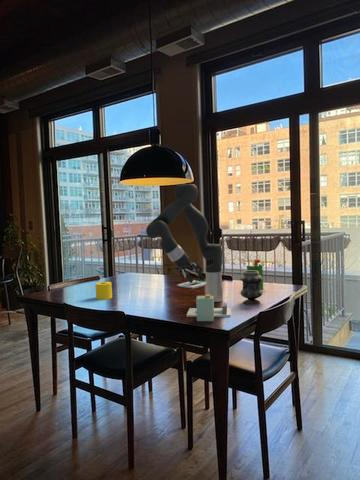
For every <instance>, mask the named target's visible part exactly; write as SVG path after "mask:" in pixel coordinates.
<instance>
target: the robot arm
mask: <svg viewBox="0 0 360 480" xmlns="http://www.w3.org/2000/svg"><path fill="white" fill-rule="evenodd" d="M198 196H199V191H198V187H197V185H196V184H193V183H187V184H178V185H176V186H175V188H174V197H175V199H176V200H175V201H174V202H172V203H170V204H169V205H167V206H165V208H164V209H163V210H162V211H161V213H159V215H157V217H156V218H154V219H153V220H152V221H151V222H150V223H149V224H148V225H147V227H146V229H145V232H146V235H147V237H148V238H150V239H157V238H159V237H160V239H161V241H160V242H159V244H160V245H159V246H160V247H161V248H162V251H164V253H165V254H166V255H167V256H168V259H170V261H171V262H172V264H174V266H175V270H176V272H178V274H179V275H180V277H181V278H186V280H187V282H190V283H192V282H193V281H194V279H193V277H192V276H191V274H194V275H196V276H197V278H198V279H199V280H200V281H204V280H205V282H206V284H205V286H204V290H205V291H204V292H205V293H204V296H205V295H206V294H211V296H214V303H218V302H222V301H223V281H222V280H223V279H222V269H223V268H222V267H223V247H222V245H221V244H219V243H218V244H217V243H209V242H208V240H207V235H208V232H209V224H208V221H207V219H206V216H205V215H204V214H203V213H202V212H201V211H199V210H198V208H196V207H195V206H194V205H193V203H194V202H195V201H196V200H197V198H198ZM182 212H183V213H184V214H185V217H186V219H187V221H188V224H189V226H190V229H191V230H192V233H193V234H194V236H195V239H196V241H197V243H198V246H199V249H200V252H201V256H202V257H203V259H204V260H207V261H209V260H210V261H212V263H211V264H209V265H206V266H205V276H204V275H203V274H202V272H203V269H202V267H201V266H200V265H199V264H198V263H197V261H196V260H195V261H193V262H191V261H190V257H189V255H188V254H187V253H186V252H185V251H184V249H183V248H182V247H181V245H179V243H177V241H176V240H175V239H174V237H173V235H172V233H171V231H170V228H169V226H170V225H171V224H172V223H173V222H174V221H175V219H176V218H177V217H178V215H180V214H181V213H182ZM189 273H191V274H189Z"/></svg>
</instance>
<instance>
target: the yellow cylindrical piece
mask: <svg viewBox="0 0 360 480" xmlns="http://www.w3.org/2000/svg"><path fill="white" fill-rule="evenodd" d="M112 285H113V284H112V281H99V282H95V299H96V300H101V301H102V300H110V299H112V298H113V288H112Z"/></svg>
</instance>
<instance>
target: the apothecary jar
mask: <svg viewBox="0 0 360 480" xmlns="http://www.w3.org/2000/svg"><path fill="white" fill-rule="evenodd" d="M261 280H262V277H261V276H260V275H259V271H255V270H247V269H246V270H243V274H241V276H240V281H241V282H242V289H241V290H240V293H239V294H240V295H241V297H243V298H244V299H245V300H243V302H242V304H244V305H249V306H252V305H253V306H256V305H260V304H261V303H262V301H260V300H259V299H258V298H261V297H262V295H263V290H260V281H261Z"/></svg>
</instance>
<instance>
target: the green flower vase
mask: <svg viewBox="0 0 360 480" xmlns="http://www.w3.org/2000/svg"><path fill="white" fill-rule="evenodd" d="M259 263H260V259H259V258H256V259H254V262H253V265H246V270H255V271H259V275H260V276H261V277H262V280H261V281H260V290H261V291H263V290H264V272H263V271H264V269H263V264H259Z"/></svg>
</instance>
